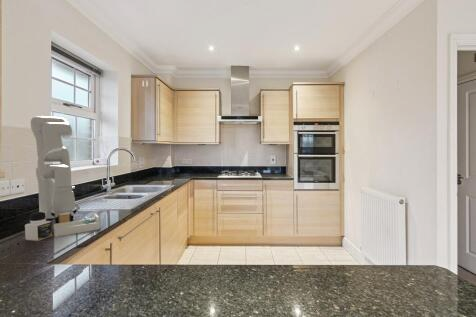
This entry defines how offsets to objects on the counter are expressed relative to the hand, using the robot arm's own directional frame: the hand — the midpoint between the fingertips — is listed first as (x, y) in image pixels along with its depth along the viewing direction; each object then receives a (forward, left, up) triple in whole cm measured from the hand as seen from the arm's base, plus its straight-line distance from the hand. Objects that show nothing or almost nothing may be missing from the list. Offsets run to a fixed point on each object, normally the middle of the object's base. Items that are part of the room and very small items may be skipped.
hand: (64, 223), depth 145 cm
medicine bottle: (+15, -11, -2) cm, 19 cm away
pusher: (+12, +11, 0) cm, 16 cm away
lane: (+12, +5, -2) cm, 13 cm away
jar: (0, 0, -2) cm, 2 cm away
